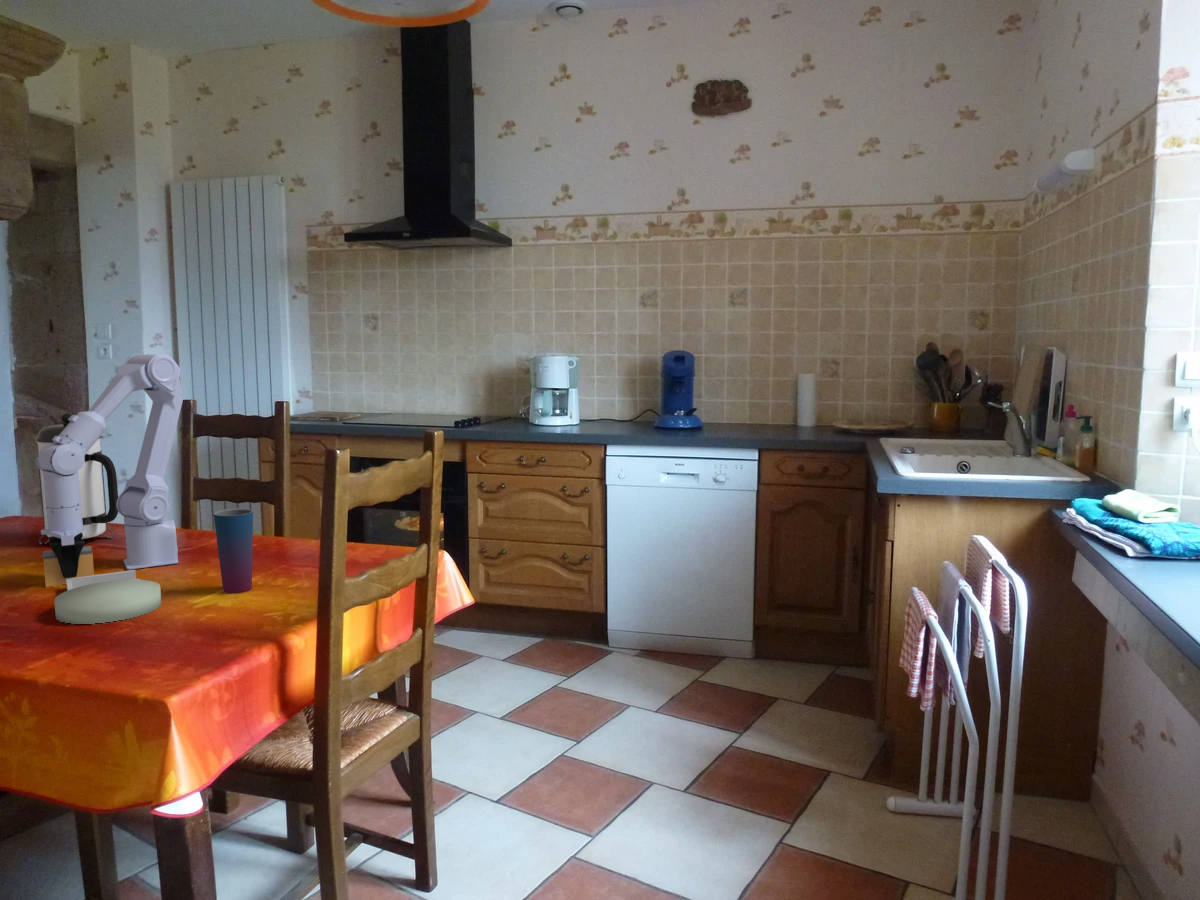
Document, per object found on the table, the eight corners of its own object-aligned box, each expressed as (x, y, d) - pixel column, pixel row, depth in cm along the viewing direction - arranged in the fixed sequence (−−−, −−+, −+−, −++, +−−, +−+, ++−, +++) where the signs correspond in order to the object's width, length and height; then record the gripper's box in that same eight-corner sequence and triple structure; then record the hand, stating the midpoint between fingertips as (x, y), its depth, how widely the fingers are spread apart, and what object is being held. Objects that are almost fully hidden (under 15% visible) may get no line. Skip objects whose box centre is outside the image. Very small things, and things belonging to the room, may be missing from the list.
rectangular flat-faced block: (93, 575, 168) (90, 545, 167) (94, 580, 164) (92, 550, 163) (45, 581, 163) (42, 551, 162) (45, 587, 160) (43, 556, 159)
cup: (219, 597, 154) (214, 517, 152) (217, 587, 160) (212, 510, 158) (258, 592, 157) (254, 513, 155) (255, 582, 163) (251, 507, 161)
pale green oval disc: (148, 577, 166) (147, 563, 166) (167, 613, 145) (166, 596, 144) (52, 591, 157) (51, 575, 157) (57, 631, 136) (55, 613, 135)
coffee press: (31, 553, 185) (19, 417, 181) (46, 537, 199) (35, 411, 195) (121, 545, 191) (111, 415, 187) (129, 530, 206) (120, 409, 202)
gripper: (38, 501, 165) (44, 568, 167) (39, 514, 153) (45, 586, 155) (80, 498, 169) (85, 563, 171) (84, 510, 157) (90, 580, 159)
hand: (69, 574), depth 163 cm, fingers closed on rectangular flat-faced block, 4 cm apart
